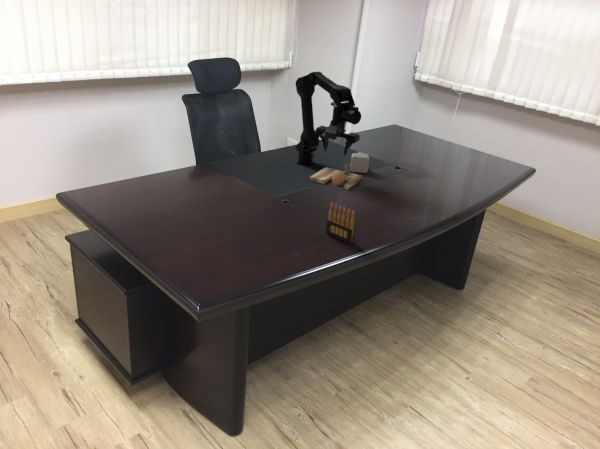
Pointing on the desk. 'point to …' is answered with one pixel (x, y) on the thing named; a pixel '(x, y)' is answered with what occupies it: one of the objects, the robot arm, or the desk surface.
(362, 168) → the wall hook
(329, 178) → the pale wood u-shaped block
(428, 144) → the desk surface
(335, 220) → the ammunition clip
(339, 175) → the tan rounded cone
